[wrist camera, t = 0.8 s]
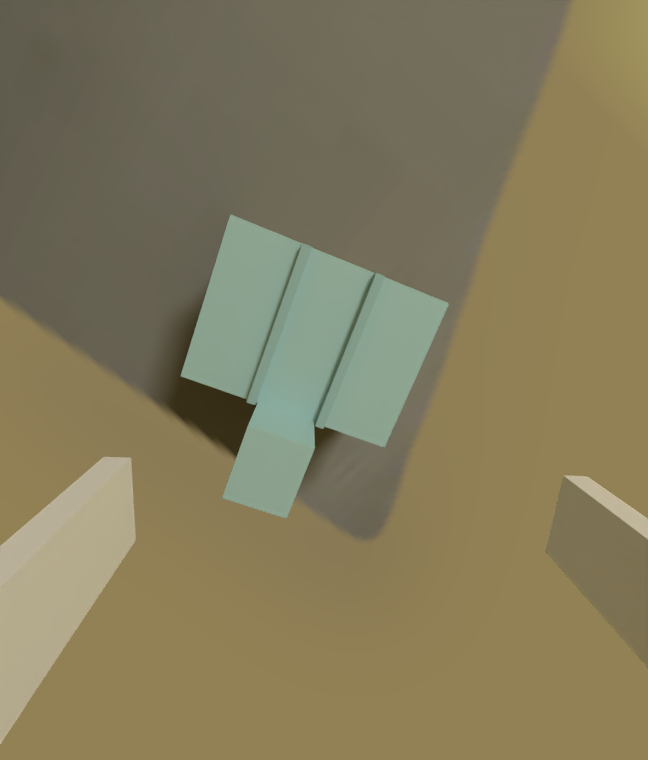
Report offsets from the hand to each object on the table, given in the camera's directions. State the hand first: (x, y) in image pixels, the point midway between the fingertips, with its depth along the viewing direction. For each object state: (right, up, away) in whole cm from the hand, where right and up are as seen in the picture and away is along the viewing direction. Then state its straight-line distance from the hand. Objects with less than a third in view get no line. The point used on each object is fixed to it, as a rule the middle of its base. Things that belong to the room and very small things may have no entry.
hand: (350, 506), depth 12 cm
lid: (-2, +5, +16) cm, 17 cm away
